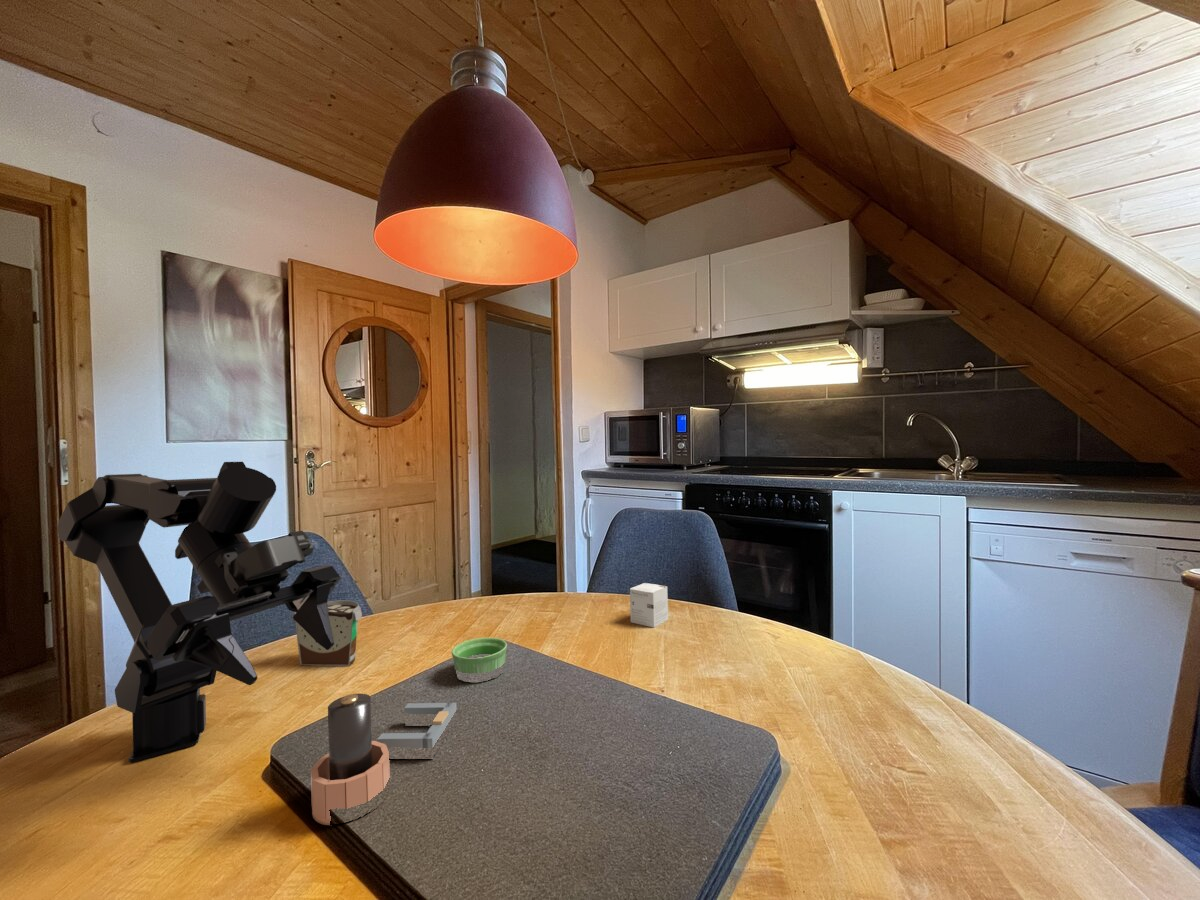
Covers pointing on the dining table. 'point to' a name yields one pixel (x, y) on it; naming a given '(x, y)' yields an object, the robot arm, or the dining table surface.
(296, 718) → the dining table surface
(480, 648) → the ramekin
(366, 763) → the cylinder
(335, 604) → the food container
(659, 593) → the skincare box
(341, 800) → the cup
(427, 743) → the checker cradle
